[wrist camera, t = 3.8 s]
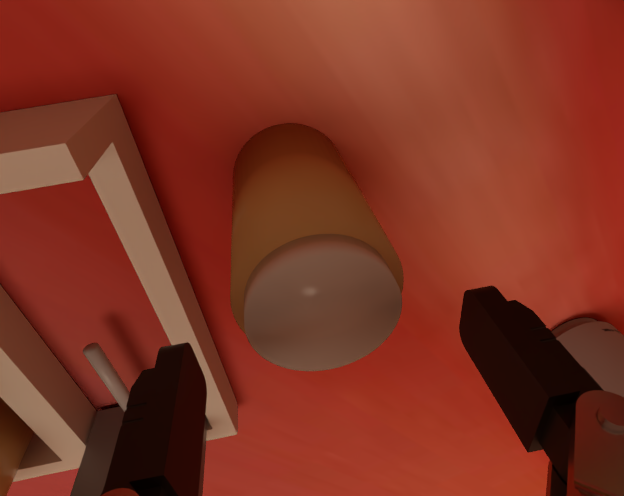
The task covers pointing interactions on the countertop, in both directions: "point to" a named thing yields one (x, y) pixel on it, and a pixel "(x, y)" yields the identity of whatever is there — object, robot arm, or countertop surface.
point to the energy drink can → (596, 351)
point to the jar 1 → (11, 444)
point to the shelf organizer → (140, 248)
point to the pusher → (108, 430)
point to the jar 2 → (308, 254)
